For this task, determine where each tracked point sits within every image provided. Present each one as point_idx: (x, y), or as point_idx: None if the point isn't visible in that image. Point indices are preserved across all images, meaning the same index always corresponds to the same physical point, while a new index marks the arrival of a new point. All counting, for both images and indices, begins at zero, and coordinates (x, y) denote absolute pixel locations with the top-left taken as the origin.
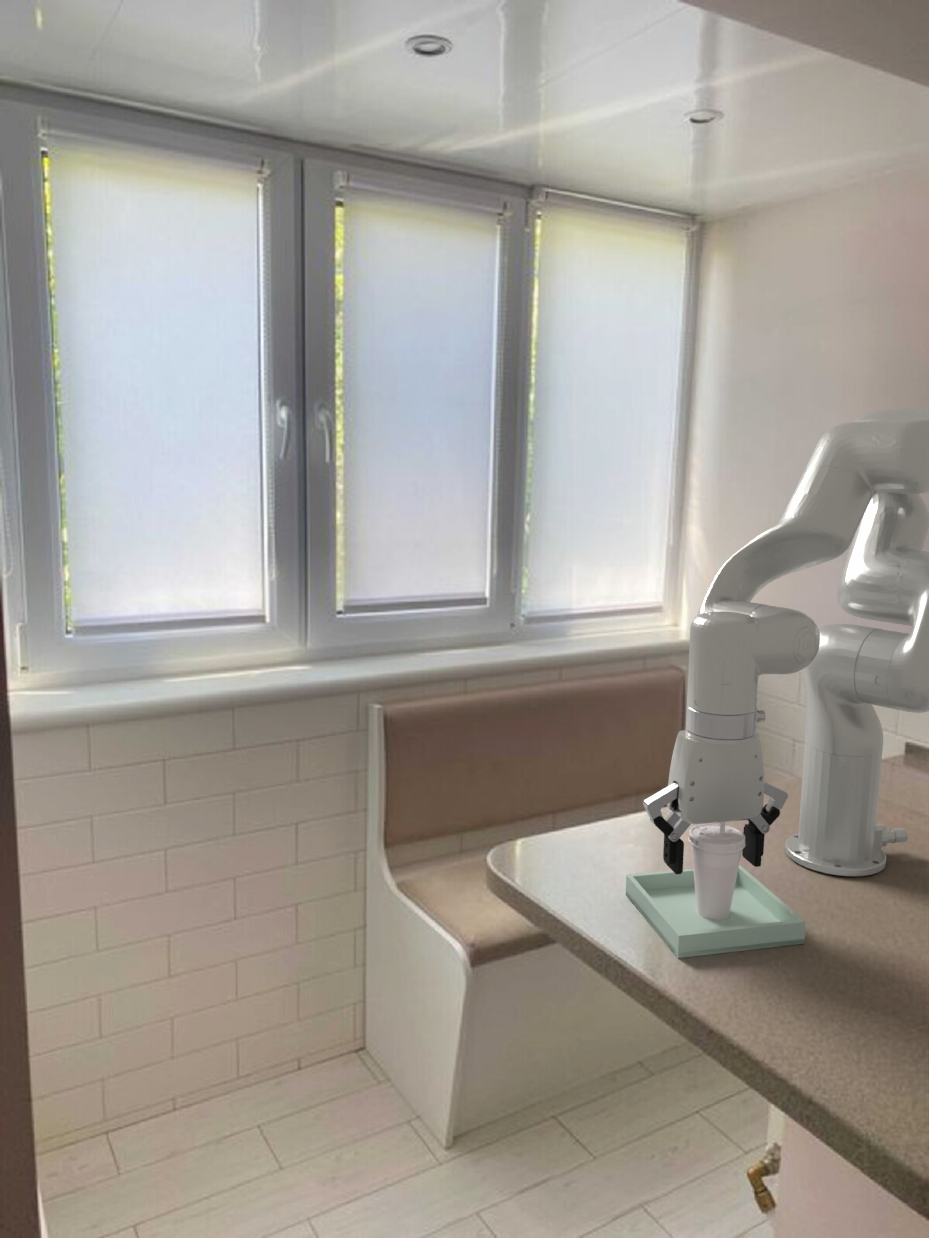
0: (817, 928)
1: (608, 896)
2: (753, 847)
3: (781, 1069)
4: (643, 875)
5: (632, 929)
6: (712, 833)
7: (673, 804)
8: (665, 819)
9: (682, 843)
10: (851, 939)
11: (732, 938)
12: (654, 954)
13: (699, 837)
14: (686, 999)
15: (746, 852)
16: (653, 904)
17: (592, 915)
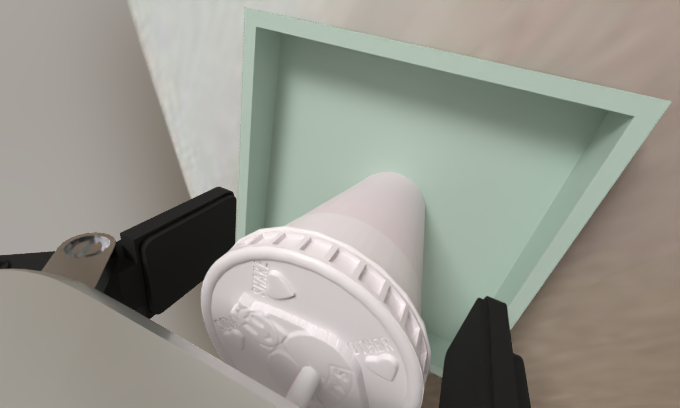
0: (554, 347)
1: (241, 6)
2: (443, 404)
3: None
4: (285, 32)
5: (234, 156)
6: (272, 350)
7: (2, 280)
8: (44, 269)
9: (151, 315)
10: (571, 400)
11: None
12: (236, 229)
13: (225, 319)
14: None
15: (467, 334)
16: (241, 178)
17: (190, 76)
